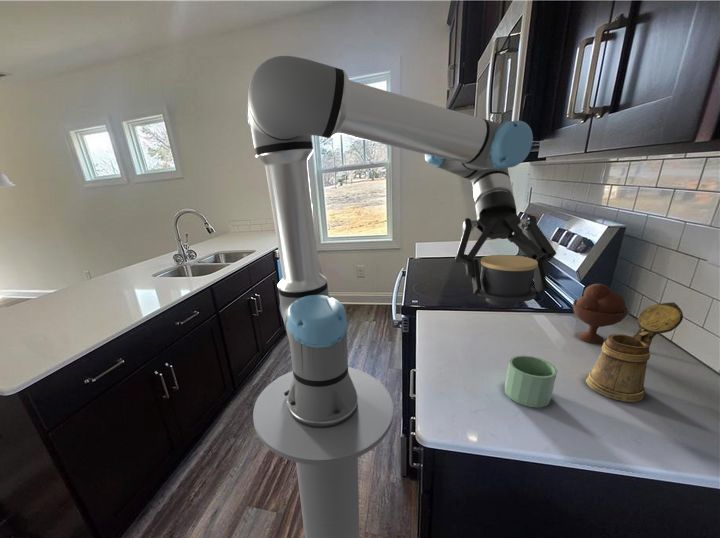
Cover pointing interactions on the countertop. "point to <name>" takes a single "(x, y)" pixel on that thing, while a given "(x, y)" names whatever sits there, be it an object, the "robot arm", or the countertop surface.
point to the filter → (507, 279)
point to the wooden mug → (631, 355)
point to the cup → (530, 381)
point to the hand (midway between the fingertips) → (509, 291)
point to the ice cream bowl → (598, 310)
